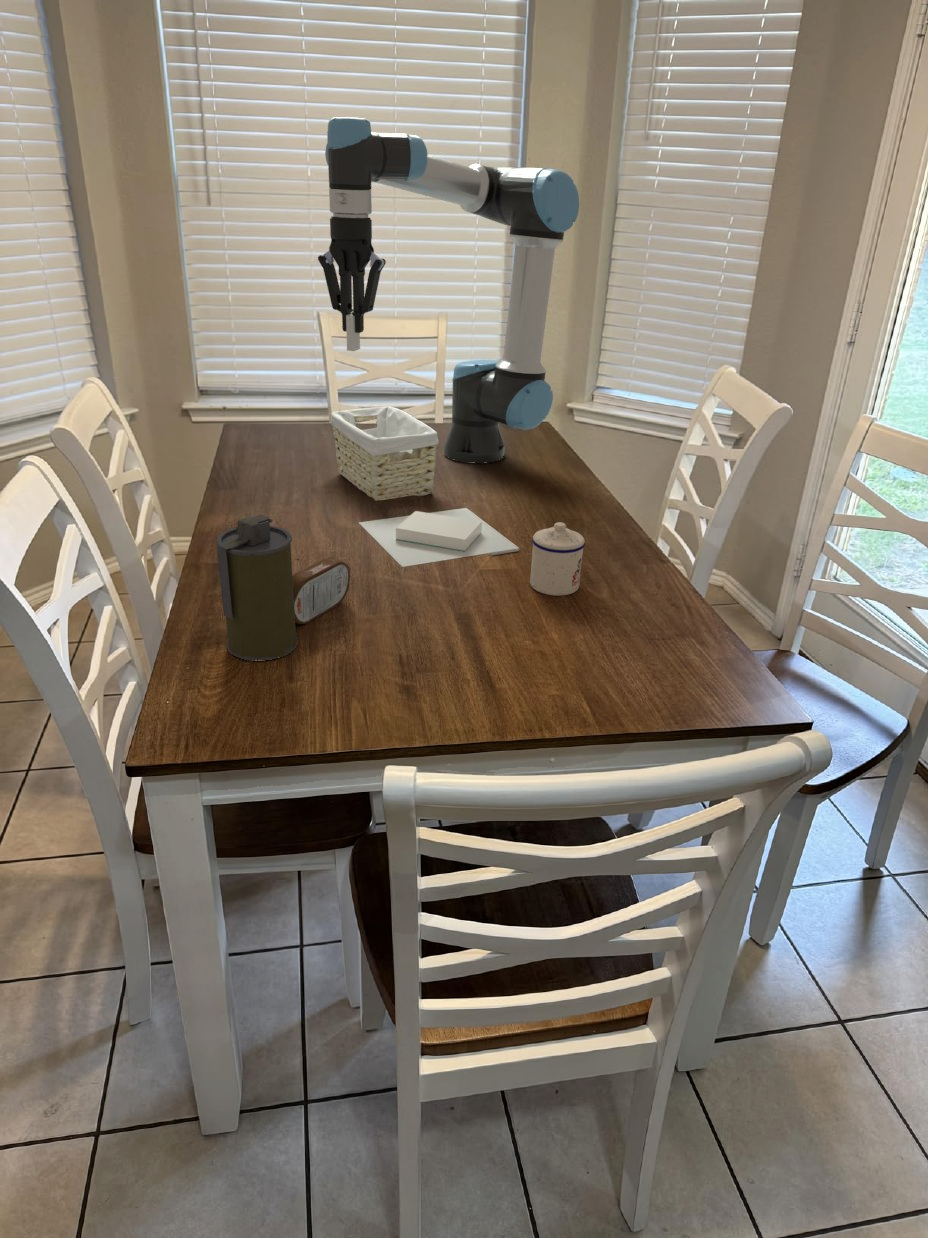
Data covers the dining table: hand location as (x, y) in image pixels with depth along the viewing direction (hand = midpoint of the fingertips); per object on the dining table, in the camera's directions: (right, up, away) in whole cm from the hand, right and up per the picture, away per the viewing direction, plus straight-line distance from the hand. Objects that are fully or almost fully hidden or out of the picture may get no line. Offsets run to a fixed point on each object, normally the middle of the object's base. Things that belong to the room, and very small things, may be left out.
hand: (353, 349), depth 170 cm
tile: (+10, -34, +2) cm, 35 cm away
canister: (-9, -56, -38) cm, 68 cm away
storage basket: (+3, -22, +29) cm, 37 cm away
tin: (-2, -51, -28) cm, 58 cm away
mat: (+16, -36, +2) cm, 40 cm away
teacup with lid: (+37, -46, -14) cm, 61 cm away
